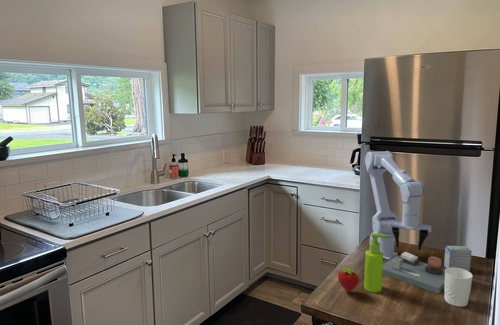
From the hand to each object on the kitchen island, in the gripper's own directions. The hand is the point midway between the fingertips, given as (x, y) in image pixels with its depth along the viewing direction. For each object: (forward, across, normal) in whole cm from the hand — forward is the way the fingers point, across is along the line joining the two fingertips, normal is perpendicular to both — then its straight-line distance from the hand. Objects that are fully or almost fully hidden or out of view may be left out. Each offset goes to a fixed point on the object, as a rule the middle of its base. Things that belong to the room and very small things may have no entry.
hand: (408, 247), depth 144 cm
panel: (+10, +3, -2) cm, 10 cm away
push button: (+5, +9, -1) cm, 11 cm away
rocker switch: (+7, +1, +4) cm, 8 cm away
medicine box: (+10, +18, +8) cm, 22 cm away
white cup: (+10, +14, -18) cm, 25 cm away
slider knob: (+8, -4, -3) cm, 9 cm away
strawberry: (+10, -20, -23) cm, 32 cm away
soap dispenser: (+10, -12, -17) cm, 23 cm away
